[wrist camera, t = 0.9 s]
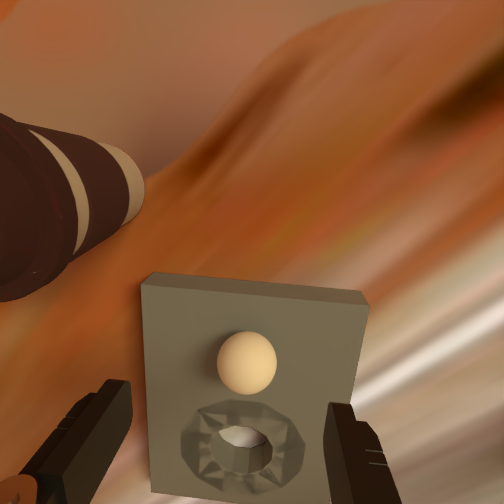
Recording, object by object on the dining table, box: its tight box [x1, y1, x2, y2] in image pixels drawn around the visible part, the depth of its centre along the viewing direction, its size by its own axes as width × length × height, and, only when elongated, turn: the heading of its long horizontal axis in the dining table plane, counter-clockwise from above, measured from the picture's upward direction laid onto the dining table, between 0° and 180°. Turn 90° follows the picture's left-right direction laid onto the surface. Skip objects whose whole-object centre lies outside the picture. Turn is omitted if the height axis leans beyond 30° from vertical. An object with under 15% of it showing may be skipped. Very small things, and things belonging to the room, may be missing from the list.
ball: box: [217, 331, 277, 395], centre depth 25 cm, size 5×5×5 cm
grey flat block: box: [141, 272, 370, 504], centre depth 32 cm, size 20×26×3 cm
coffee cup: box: [0, 113, 145, 302], centre depth 20 cm, size 10×10×15 cm
